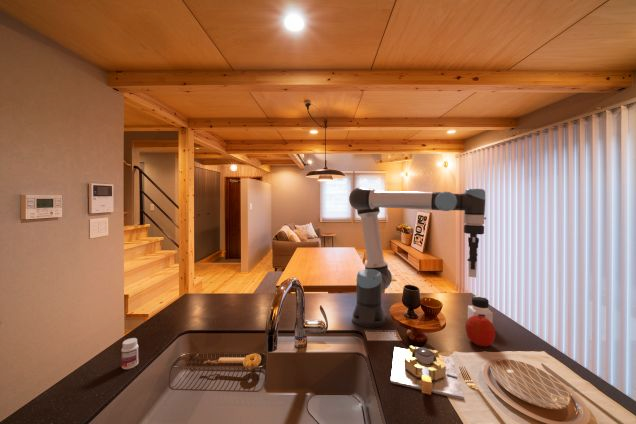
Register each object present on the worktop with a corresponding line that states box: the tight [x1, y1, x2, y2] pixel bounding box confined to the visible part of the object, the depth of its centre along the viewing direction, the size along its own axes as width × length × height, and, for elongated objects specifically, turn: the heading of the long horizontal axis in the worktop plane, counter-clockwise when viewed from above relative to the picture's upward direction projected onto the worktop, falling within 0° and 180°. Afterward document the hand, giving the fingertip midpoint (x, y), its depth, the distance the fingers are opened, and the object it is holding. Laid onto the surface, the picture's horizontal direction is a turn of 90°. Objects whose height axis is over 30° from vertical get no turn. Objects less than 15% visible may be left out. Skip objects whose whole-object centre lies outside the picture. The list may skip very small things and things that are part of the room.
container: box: [467, 295, 494, 325], centre depth 118 cm, size 8×8×13 cm
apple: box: [464, 315, 496, 347], centre depth 102 cm, size 10×10×12 cm
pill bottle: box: [120, 337, 140, 370], centre depth 87 cm, size 5×5×8 cm
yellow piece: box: [404, 345, 446, 396], centre depth 82 cm, size 19×12×4 cm, turn 160°
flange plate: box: [390, 346, 465, 401], centre depth 85 cm, size 20×20×7 cm
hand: (472, 273), depth 111 cm, fingers open, 13 cm apart
